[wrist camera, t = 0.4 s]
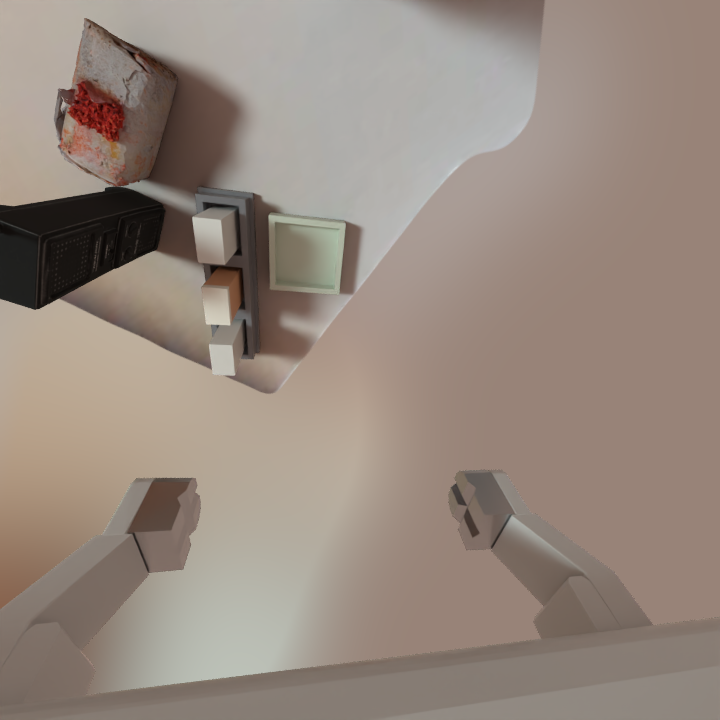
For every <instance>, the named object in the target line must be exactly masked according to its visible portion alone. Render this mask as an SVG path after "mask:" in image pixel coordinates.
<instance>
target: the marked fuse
mask: <svg viewBox="0 0 720 720" xmlns="http://www.w3.org/2000/svg"><path fill="white" fill-rule="evenodd" d="M201 288H202V296H203V304H204V311H205V319H206V324H212V325H231V323H232V321H233V319H234V317H235V315H236V313H237V311H238V309H239V307H240V305H241V303H242V301H243V298H244V293H243V277H242V268H240V267H228V266H219V267H218V268H217V269H216V270H215V272H214V273H213V274H212V275H211V276H210V278H209V279H208V280H207V281H206V282H205V283H204V285H203V286H202V287H201Z"/></svg>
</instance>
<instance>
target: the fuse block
mask: <svg viewBox="0 0 720 720" xmlns="http://www.w3.org/2000/svg"><path fill="white" fill-rule="evenodd" d="M197 190H198V193H196V194H195V199H196V207H197V215H195V216H193V217H192V221H193V228H194V236H195V243H196V251H197V258H198V263H203V264H204V272H205V280H206V281H207V280H208V279H209V278H210V276H211V275H212V274H213V273H214V272H215V270H216V269H217V268H218V267H219V266H228V267H240V268H242V277H243V293H244V298H243V301H242V303H241V305H240V307H239V309H238V311H237V313H236V315H235V317H234V319H233V321H232V323H231V325H212V324H211V328H212V336H213V338H212V340H211V341H210V343H209V349H210V356H211V364H212V371H213V375H235V374H236V371H237V368H238V366H239V363H240V360H241V359H254V356H255V353H259V352H260V337H259V312H258V288H257V263H256V238H255V213H254V193H249V192H241V191H233V190H225V189H217V188H208V187H200V186H199V187H197Z"/></svg>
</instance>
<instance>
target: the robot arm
mask: <svg viewBox="0 0 720 720" xmlns="http://www.w3.org/2000/svg"><path fill="white" fill-rule="evenodd" d="M455 481H456V484H455V485H453V486H452V487H451V489H450V491H449V506H450V510H451V513H452V515H453V517H454V518H455V519H456V520H457V521H459V522H460V525H459V529H458V530H459V533H460V536H461V538H462V541H463V543H464V545H465V548H466V550H484V549H492V550H491V551H492V552H493V553H494V554H495V555H496V556H497V557H498V558H499V559H500V560H501V562H502V563H503V564H504V565H505V566H506V567H507V568H508V569H509V570H510V571H511V572H512V573H513V574H514V575H515V576H516V578H517V579H518V580H519V581H520V582H521V583H522V584H523V585H524V586H525V587H526V588H527V589H528V590H529V591H530V592H531V593H532V595H534V597H535V598H536V599H537V600H538V601H539V602H540V603H541V604H542V605H543V606H544V607H543V608H542V609H541V610H540V611H539V613H538V614H537V615H536V616H535V619H534V621H533V622H534V624H535V626H536V628H537V630H538V633H539V635H540V637H541V639H537V640H529V641H521V642H513V643H504V644H496V645H488V646H480V647H472V648H464V649H456V650H448V651H439V652H431V653H423V654H415V655H407V656H399V657H391V658H383V659H375V660H366V661H359V662H350V663H343V664H334V665H327V666H318V667H310V668H301V669H294V670H286V671H278V672H269V673H261V674H253V675H245V676H237V677H229V678H220V679H212V680H204V681H196V682H189V683H180V684H172V685H164V686H156V687H148V688H140V689H131V690H124V691H115V692H107V693H99V694H91V695H86V694H87V691H88V689H89V686H90V684H91V681H92V679H93V677H94V674H95V669H94V666H93V665H92V663H91V662H90V661H89V660H88V658H87V657H86V656H85V655H84V654H83V652H82V649H83V648H84V647H85V646H86V645H87V644H88V643H89V642H90V640H91V639H92V638H93V637H94V636H95V635H96V634H97V632H98V631H99V630H100V629H101V628H102V627H103V626H104V625H105V624H106V622H107V621H108V620H109V619H110V618H111V617H112V616H113V615H114V614H115V612H116V611H117V610H118V609H119V608H120V607H121V605H122V604H123V603H124V602H125V601H126V600H127V599H128V598H129V597H130V596H131V594H132V593H133V592H134V591H135V590H136V589H137V588H138V587H139V585H140V584H141V583H142V582H143V581H144V580H145V579H146V578H147V576H148V575H149V574H148V573H152V572H162V571H173V570H182V569H183V568H184V565H185V562H186V559H187V556H188V553H189V550H190V546H191V543H190V539H189V535H190V534H191V533H192V532H194V531H195V530H196V527H197V524H198V520H199V515H200V509H201V507H200V505H201V504H200V503H201V502H200V496H199V495H198V494H197V493H195V491H196V488H197V482H196V479H195V478H136V479H135V480H134V481H133V482H132V483H131V485H130V486H129V488H128V490H127V492H126V493H125V495H124V497H123V499H122V501H121V502H120V504H119V506H118V508H117V509H116V511H115V513H114V515H113V516H112V518H111V520H110V522H109V524H108V525H107V527H106V529H105V531H104V532H103V534H102V535H96V536H94V537H93V538H92V539H90V540H89V541H88V542H87V543H85V544H84V545H83V546H81V547H80V548H79V549H78V550H77V551H75V552H74V553H72V554H71V555H70V556H69V557H67V558H66V559H65V560H63V561H62V562H61V563H59V564H58V565H57V566H56V567H54V568H53V569H52V570H50V571H49V572H48V573H47V574H45V575H44V576H43V577H41V578H40V579H39V580H38V581H37V582H35V583H34V584H32V585H31V586H30V587H29V588H27V589H26V590H25V591H23V592H22V593H21V594H20V595H18V596H17V597H16V598H14V599H13V600H12V601H10V602H9V603H8V604H7V605H5V606H4V607H3V608H1V609H0V720H720V617H715V618H708V619H700V620H691V621H683V622H675V623H667V624H659V625H653V624H652V623H651V621H650V620H649V619H648V617H647V616H646V614H645V613H644V612H643V610H642V609H641V608H640V606H639V605H638V604H637V602H636V601H635V600H634V598H633V597H632V595H631V594H630V593H629V591H628V590H627V589H626V587H625V586H624V584H623V583H622V582H621V581H620V579H619V578H618V576H617V575H616V574H615V572H614V571H612V570H611V569H610V568H608V567H607V566H606V565H604V564H603V563H602V562H600V561H599V560H598V559H596V558H595V557H593V556H592V555H590V554H589V553H588V552H587V551H585V550H584V549H583V548H581V547H580V546H579V545H577V544H576V543H574V542H573V541H572V540H570V539H569V538H568V537H567V536H565V535H564V534H562V533H561V532H560V531H558V530H557V529H556V528H554V527H553V526H552V525H550V524H549V523H548V522H546V521H545V520H543V519H542V518H541V517H540V516H538V515H537V514H531V512H530V510H529V509H528V507H527V506H526V504H525V503H524V501H523V500H522V498H521V496H520V495H519V493H518V491H517V490H516V488H515V487H514V485H513V484H512V482H511V480H510V479H509V477H508V476H507V474H506V473H505V472H504V471H503V470H473V471H472V470H470V471H459V472H458V473H457V474H456V476H455Z"/></svg>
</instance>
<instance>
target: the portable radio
mask: <svg viewBox="0 0 720 720" xmlns="http://www.w3.org/2000/svg"><path fill="white" fill-rule="evenodd" d="M164 214H165V210H164V209H163V205H162V204H161V203H159V202H157V201H155V200H153V199H150V198H148V197H146V196H144V195H142V194H140V193H138V192H136V191H133V190H130V189H127V188H123V187H108V188H105V191H103V192H98V193H92V194H86V195H79V196H73V197H67V198H61V199H55V200H49V201H43V202H37V203H31V204H25V205H19V206H6V205H0V299H2V300H6V301H9V302H12V303H15V304H19V305H22V306H25V307H28V308H31V309H34V310H36V309H40V308H42V307H44V306H45V305H47V304H50V303H51V302H53V301H55V300H57V299H59V298H61V297H62V296H64V295H66V294H68V293H70V292H72V291H73V290H75V289H77V288H79V287H81V286H83V285H85V284H86V283H88V282H90V281H92V280H94V279H96V278H98V277H99V276H101V275H103V274H105V273H107V272H109V271H111V270H113V269H116V268H119V267H121V266H123V265H125V264H127V263H129V262H131V261H133V260H135V259H137V258H139V257H141V256H143V255H145V254H147V253H150V252H152V251H155V250H157V247H158V242H159V238H160V234H161V229H162V224H163V219H164Z"/></svg>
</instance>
